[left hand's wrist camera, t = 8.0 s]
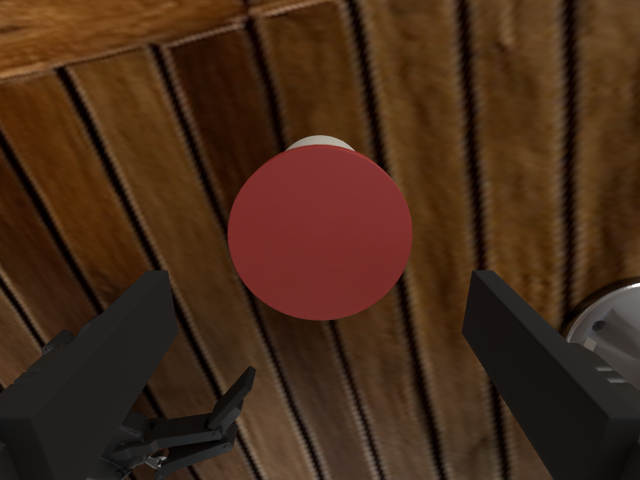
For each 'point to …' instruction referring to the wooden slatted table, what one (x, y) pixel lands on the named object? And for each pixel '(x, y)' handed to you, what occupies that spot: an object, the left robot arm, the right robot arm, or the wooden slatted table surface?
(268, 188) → the lid
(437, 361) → the wooden slatted table surface
